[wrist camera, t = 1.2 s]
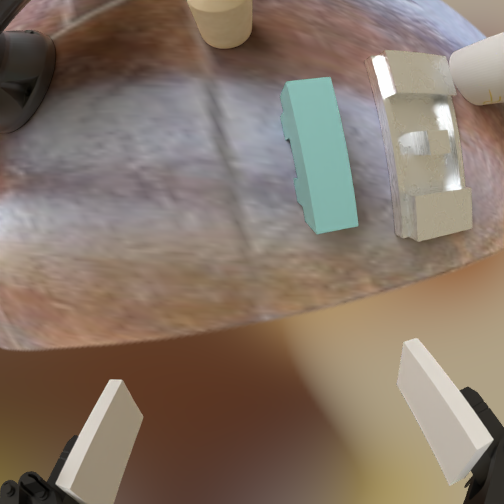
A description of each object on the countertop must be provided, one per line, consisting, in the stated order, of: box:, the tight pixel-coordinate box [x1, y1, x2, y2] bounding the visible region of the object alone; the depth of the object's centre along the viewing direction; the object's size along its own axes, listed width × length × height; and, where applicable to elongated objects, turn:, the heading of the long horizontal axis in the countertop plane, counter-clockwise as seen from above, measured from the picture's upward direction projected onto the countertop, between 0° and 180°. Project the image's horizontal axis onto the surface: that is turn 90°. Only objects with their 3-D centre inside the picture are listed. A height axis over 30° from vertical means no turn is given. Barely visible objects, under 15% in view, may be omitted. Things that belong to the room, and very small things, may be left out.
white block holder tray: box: [364, 50, 472, 242], centre depth 25 cm, size 20×10×4 cm, turn 12°
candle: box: [186, 0, 252, 49], centre depth 19 cm, size 6×6×10 cm
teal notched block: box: [280, 77, 358, 234], centre depth 24 cm, size 12×4×8 cm, turn 12°
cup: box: [449, 32, 504, 105], centre depth 18 cm, size 8×8×12 cm
